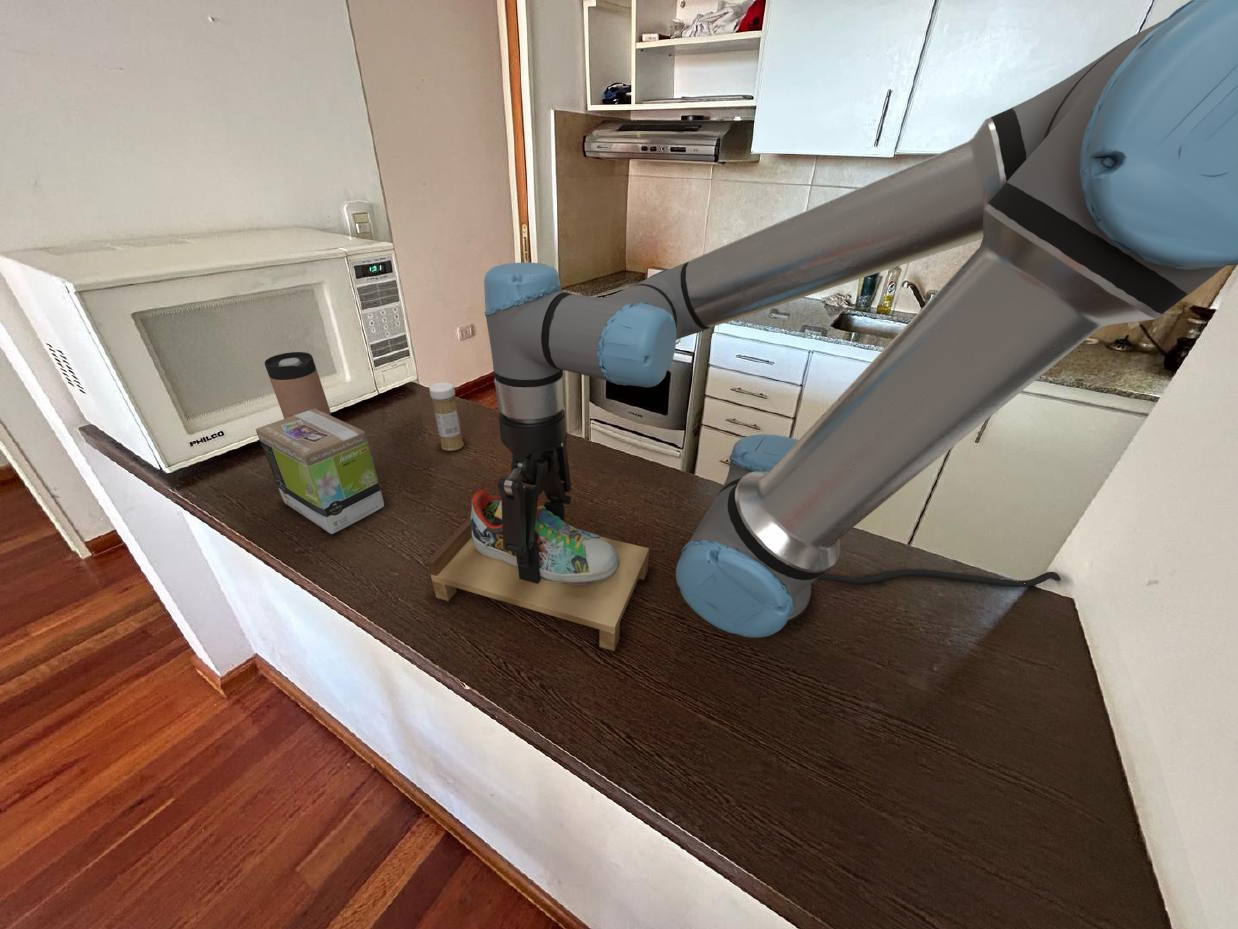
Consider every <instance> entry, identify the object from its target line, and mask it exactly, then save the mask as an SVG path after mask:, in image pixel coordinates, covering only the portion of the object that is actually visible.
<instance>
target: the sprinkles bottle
mask: <svg viewBox="0 0 1238 929" xmlns="http://www.w3.org/2000/svg"><path fill="white" fill-rule="evenodd" d="M428 391H429V397H430V399H431V401H432V406H433V411H434V417H435V422H436V427H437V432H438V436H439V441H440V448H441V450H443V451H446V452H455V451H457V450H460V449H462V448H463V447H464V441H463V435H462V428H461V423H460V422H461V420H460V417H459V413H458V406H457V401H456V390H455V385H454V384H453V383H451V382H447V381H442V382H441V381H440V382H436V383H434V384H432V385H430V386H429V390H428Z"/></svg>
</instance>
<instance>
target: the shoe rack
mask: <svg viewBox="0 0 1238 929" xmlns="http://www.w3.org/2000/svg"><path fill="white" fill-rule="evenodd" d="M471 527H472V524H471V515H469V517H468V518H467V519H466V520H465V521H464V522H463V523H462V525H460V526H459V527H458V528H457V530H455V531H454V532H453V533H452V534H451V536H449V538H448V539H447V540H446V541H444V543H443V544H441V546H440V547H439V548H438V549H437V550H436V551H435V552H434V553H433V554H432V555H431V556H430V557H429V558H428V559H427V560H426V561H427V566H428V570H429V574H430V577H431V582H432V586H433V590H434V594H435V598H436V599H439V600H443V601H446V602H449V601H451V599H452V598H453V597H454V596H455V594H456V593H457V589H458V590H462V591H465V592H470V593H472V594H476V595H480V596H483V597H486V598H490V599H492V600H496V601H500V602H504V603H507V604H510V605H514V606H517V607H521V608H524V609H528V610H531V611H535V612H538V613H541V614H545V615H548V616H552V617H555V618H558V619H562V620H566V621H569V622H571V623H572V622H573V623H575V624H579V625H582V626H585V627H590V628H593V629H595V630H599V632H598V633H599V642H598V644H599V648H603V649H606V650H609V651H612V652H615V651H616V649H617V646H618V644H619V642H620V631H621V630H620V629H621V620H622V618H623V616H624V613H625V611H626V609H627V606H628V604H629V603H630V600H631V597H632V595H633V592H634V590H635V588H636V586H637V584H638V581H639V580H643V581H644V580H645V579H646V576H647V574H648V572H649V561H650V560H649V558H650V548H649V547H645V546H640V545H636V544H632V543H629V542H624V541H620V540H615V539H611V538H608V537H603V536H600V539H601V540H604V541H606V542H608V543H609V544H610V545H612V546H613V547H614V548H615V550H616V551H617V553H618V556H619V560H620V565H619V567H618V569H617V571H616V572H615V573H614V574H613V575H612V576H610V577H609V578H607V579H606V580H603V581H599V582H596V583H591V584H580V585H575V584H565V583H557V582H551V581H547V580H544V579H541V578H540V582H539V583H538V584H536V583H533V582H529V581H525V580H522V579H519V571H518V567H517V566H514V565H512V564H509V563H506V562H504V561H501V560H496V559H493V558H490V557H487V556H485V555H483V554H481V553H480V552H479V551H478V550H477V549H476V548H475V547H474V544H473V541H472V530H471Z"/></svg>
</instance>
